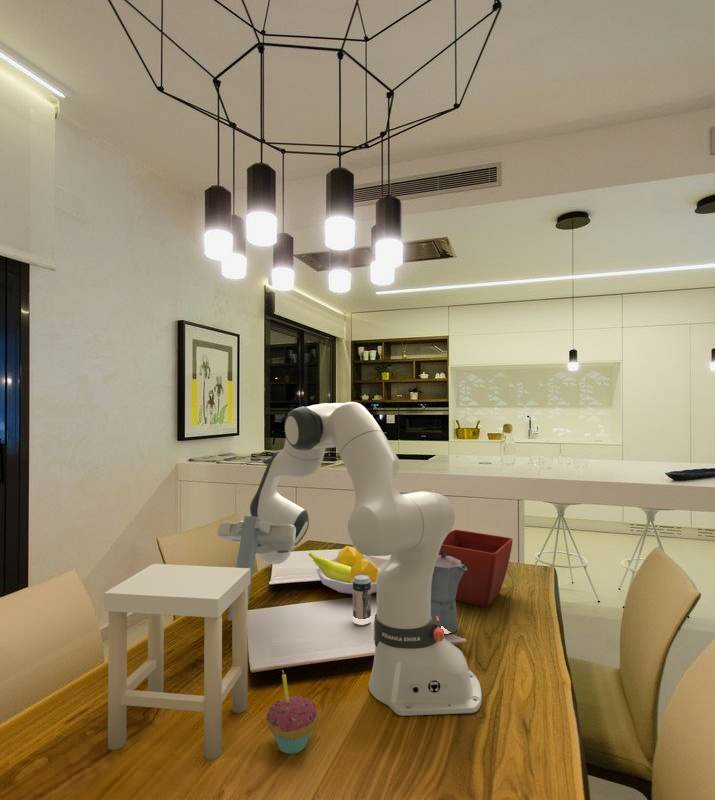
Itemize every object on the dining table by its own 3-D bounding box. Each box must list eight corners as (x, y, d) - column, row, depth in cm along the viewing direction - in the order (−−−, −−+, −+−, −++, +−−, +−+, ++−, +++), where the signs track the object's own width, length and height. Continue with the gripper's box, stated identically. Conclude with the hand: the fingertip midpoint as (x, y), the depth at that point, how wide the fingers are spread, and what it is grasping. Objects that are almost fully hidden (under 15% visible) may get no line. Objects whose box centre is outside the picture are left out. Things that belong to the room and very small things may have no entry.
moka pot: (460, 642, 118) (460, 559, 118) (403, 627, 126) (403, 549, 126) (473, 627, 126) (473, 549, 126) (419, 613, 134) (419, 540, 134)
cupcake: (257, 753, 80) (257, 680, 80) (283, 722, 88) (283, 655, 88) (303, 768, 77) (303, 691, 77) (326, 734, 85) (326, 665, 85)
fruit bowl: (405, 575, 164) (405, 541, 164) (392, 608, 137) (392, 568, 137) (325, 569, 170) (325, 536, 170) (299, 599, 144) (299, 561, 144)
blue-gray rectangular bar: (260, 519, 125) (256, 516, 122) (245, 621, 115) (240, 621, 112) (248, 519, 126) (244, 516, 123) (232, 620, 115) (227, 620, 112)
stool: (250, 704, 93) (250, 568, 94) (217, 760, 78) (218, 599, 79) (152, 695, 96) (153, 563, 96) (103, 749, 81) (104, 592, 81)
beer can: (369, 627, 125) (369, 580, 126) (351, 625, 126) (351, 579, 127) (372, 619, 130) (372, 574, 130) (354, 617, 131) (354, 573, 131)
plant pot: (513, 592, 149) (513, 537, 149) (495, 615, 133) (495, 553, 133) (454, 580, 159) (454, 528, 159) (430, 600, 143) (430, 542, 143)
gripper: (230, 525, 136) (212, 510, 124) (301, 528, 134) (290, 513, 122) (225, 548, 133) (206, 535, 121) (298, 552, 130) (286, 538, 119)
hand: (249, 524), depth 121 cm, fingers closed on blue-gray rectangular bar, 3 cm apart
